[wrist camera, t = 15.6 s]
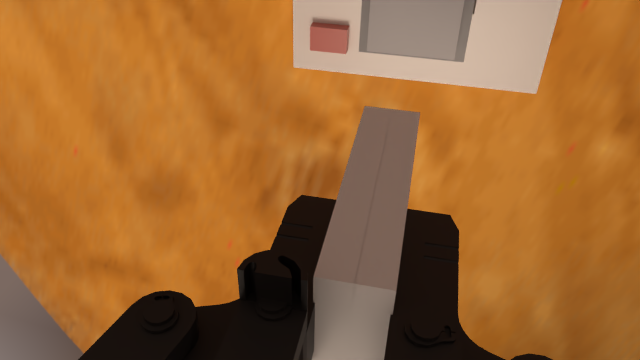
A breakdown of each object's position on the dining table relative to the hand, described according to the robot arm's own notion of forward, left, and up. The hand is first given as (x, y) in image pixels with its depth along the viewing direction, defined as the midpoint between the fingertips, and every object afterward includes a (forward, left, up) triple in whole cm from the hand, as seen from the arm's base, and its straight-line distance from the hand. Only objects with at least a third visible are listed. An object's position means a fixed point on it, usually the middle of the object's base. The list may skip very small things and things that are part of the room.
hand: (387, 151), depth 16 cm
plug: (0, 0, -24) cm, 24 cm away
